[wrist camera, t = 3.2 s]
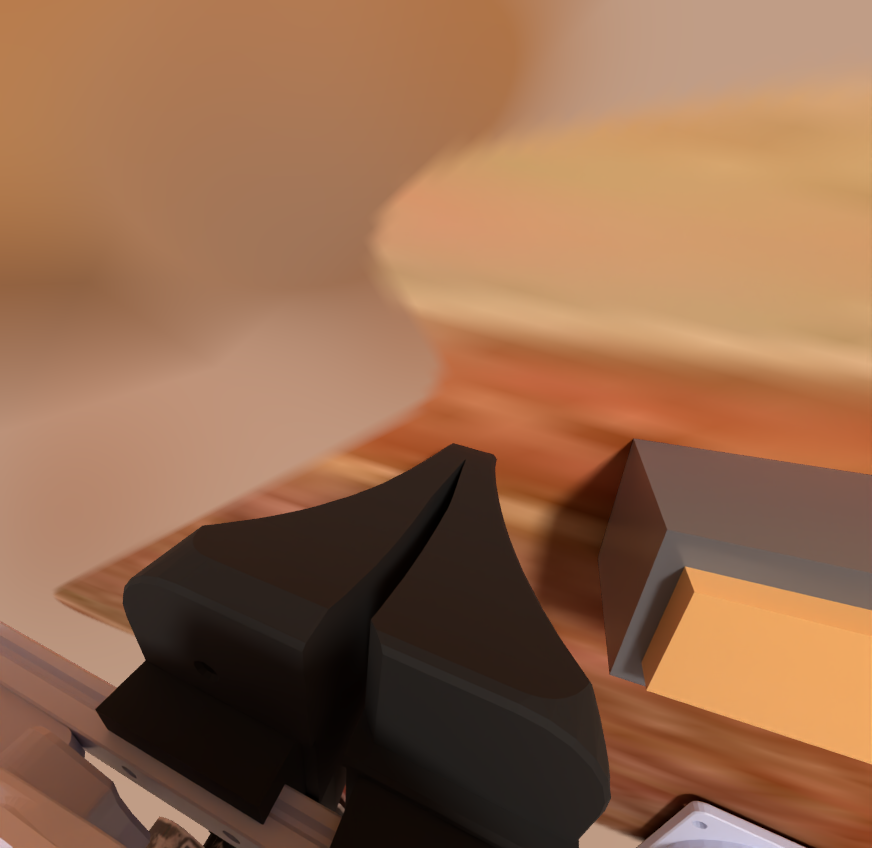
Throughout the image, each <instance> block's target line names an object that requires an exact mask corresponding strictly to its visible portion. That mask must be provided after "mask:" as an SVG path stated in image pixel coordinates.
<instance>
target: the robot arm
mask: <svg viewBox="0 0 872 848" xmlns="http://www.w3.org/2000/svg"><path fill="white" fill-rule="evenodd" d="M496 460H497V459H496V457H495V456H494V455H493V454H489V453H486V452H482V451H479V450H475V449H472V448H468V447H465V446H461V445H457V444H454V443H453V444H451V445H449V446H447V447H446V448H444V449H443V450H441V451H440V452H438V453H437V454H435V455H433V456H432V457H430V458H429V459H427V460H425V461H424V462H422V463H420V464H419V465H417V466H415V467H413V468H412V469H410V470H408V471H406V472H405V473H403V474H401V475H399V476H397V477H395V478H393V479H391V480H389V481H387V482H385V483H383V484H380V485H378V486H376V487H373V488H371V489H368V490H366V491H363V492H360V493H358V494H355V495H352V496H349V497H346V498H343V499H340V500H336V501H333V502H329V503H326V504H323V505H319V506H316V507H312V508H308V509H304V510H299V511H295V512H291V513H285V514H280V515H275V516H270V517H264V518H259V519H252V520H244V521H237V522H230V523H222V524H215V525H205V526H202V527H200V528H199V529H197V530H196V531H195V532H193V533H192V534H191V535H189V536H188V537H186V538H185V539H184V540H182V541H181V542H180V543H178V544H177V545H176V546H174V547H173V548H172V549H170V550H169V551H167V552H166V553H165V554H163V555H162V556H161V557H159V558H158V559H157V560H155V561H154V562H153V563H151V564H150V565H148V566H147V567H146V568H144V569H143V570H142V571H140V572H139V573H138V574H136V575H135V576H134V577H132V578H131V579H130V580H129V582H128V583H127V584H126V586H125V588H124V593H123V606H124V609H125V612H126V616H127V618H128V621H129V623H130V625H131V627H132V630H133V632H134V634H135V637H136V639H137V641H138V644H139V646H140V648H141V650H142V653H143V655H144V657H145V659H146V661H145V662H144V663H143V664H142V665H141V666H139V668H138V669H137V670H135V671H134V672H133V673H132V674H131V675H130V676H129V677H128V678H127V679H126V680H125V681H124V682H123V683H122V684H121V685H120V686H119V687H118V688H117V687H115V686H113V685H111V684H110V683H108V682H106V681H104V680H103V679H101V678H99V677H97V676H96V675H94V674H92V673H90V672H89V671H87V670H85V669H83V668H82V667H80V666H78V665H76V664H75V663H73V662H71V661H69V660H68V659H66V658H64V657H62V656H61V655H59V654H57V653H55V652H54V651H52V650H50V649H48V648H47V647H45V646H43V645H41V644H40V643H38V642H36V641H35V640H33V639H31V638H29V637H27V636H26V635H24V634H22V633H21V632H19V631H17V630H15V629H14V628H12V627H10V626H8V625H6V624H5V623H3V622H1V621H0V848H146V847H147V845H148V844H149V843H150V836H151V833H150V832H149V831H148V830H147V829H146V828H145V827H144V826H143V825H142V824H141V822H140V821H139V820H138V819H137V818H136V817H135V816H134V815H133V814H132V813H131V811H130V810H129V809H128V807H127V806H126V804H125V803H124V802H123V801H122V799H121V798H120V796H119V794H118V792H117V790H116V787H115V785H114V783H113V782H112V781H111V780H110V779H109V778H108V777H106V776H105V775H104V774H103V773H102V772H100V771H99V770H98V769H97V768H96V767H94V766H93V765H92V764H91V763H89V762H88V761H87V760H86V759H85V758H84V757H85V751H87V752H88V753H90V754H91V755H93V756H95V757H96V758H98V759H100V760H101V761H102V762H104V763H105V764H107V765H109V766H110V767H112V768H113V769H115V770H116V771H118V772H119V773H121V774H122V775H124V776H126V777H127V778H129V779H130V780H132V781H133V782H135V783H137V784H138V785H140V786H141V787H143V788H144V789H146V790H147V791H149V792H150V793H152V794H153V795H155V796H157V797H158V798H160V799H162V800H163V801H164V802H166V803H167V804H169V805H171V806H172V807H174V808H175V809H177V810H178V811H180V812H182V813H183V814H185V815H186V816H188V817H189V818H191V819H192V820H194V821H195V822H197V823H198V824H200V825H202V826H203V827H205V828H206V829H208V830H209V831H211V832H212V833H214V834H216V835H217V836H219V837H220V838H222V839H223V840H225V841H226V842H228V843H230V844H231V845H233V846H234V847H236V848H579V838H580V837H581V836H582V835H583V834H584V833H585V832H586V830H588V828H589V827H590V826H591V825H592V824H593V823H594V822H595V821H596V820H597V819H598V818H599V817H600V816H601V814H602V813H603V812H604V811H605V809H606V807H607V805H608V803H609V801H610V799H611V793H610V773H609V762H608V756H607V750H606V745H605V739H604V734H603V729H602V724H601V719H600V715H599V711H598V706H597V702H596V698H595V694H594V690H593V687H592V684H591V682H590V681H589V679H588V678H587V677H586V675H585V674H584V672H583V671H582V669H581V668H580V666H579V665H578V664H577V662H576V661H575V659H574V658H573V656H572V655H571V653H570V652H569V651H568V649H567V648H566V646H565V645H564V643H563V642H562V640H561V639H560V637H559V636H558V634H557V632H556V631H555V629H554V627H553V626H552V624H551V622H550V621H549V619H548V617H547V616H546V614H545V612H544V611H543V609H542V607H541V605H540V603H539V601H538V599H537V597H536V595H535V594H534V592H533V590H532V588H531V586H530V584H529V582H528V580H527V578H526V576H525V574H524V572H523V570H522V568H521V565H520V563H519V561H518V558H517V556H516V554H515V551H514V549H513V546H512V543H511V541H510V538H509V535H508V532H507V529H506V526H505V522H504V519H503V515H502V512H501V507H500V503H499V498H498V492H497V486H496V476H495V465H496ZM345 785H346V794H345V811H344V813H343V816H340V815H338V814H337V813H335V812H336V810H337V807H338V804H339V801H340V798H341V796H342V793H343V790H344V787H345ZM636 848H806V847H804V846H802V845H800V844H797V843H795V842H793V841H791V840H788V839H786V838H784V837H782V836H779V835H777V834H775V833H773V832H770V831H768V830H766V829H764V828H761V827H759V826H757V825H755V824H752V823H750V822H748V821H746V820H744V819H741V818H739V817H737V816H735V815H732V814H730V813H728V812H726V811H723V810H721V809H719V808H717V807H714V806H712V805H710V804H708V803H705V802H701V801H692V802H690V803H689V804H688V805H687V806H685V807H684V808H683V809H682V810H681V811H679V812H678V813H677V814H676V815H675V816H673V817H672V818H671V819H670V820H669V821H667V822H666V823H665V824H664V825H663V826H661V827H660V828H659V829H658V830H657V831H656V832H654V833H653V834H652V835H651V836H650V837H648V838H647V839H646V840H645V841H644V842H642V843H641V844H640V845H639V846H638V847H636Z"/></svg>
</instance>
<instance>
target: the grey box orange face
mask: <svg viewBox="0 0 872 848" xmlns="http://www.w3.org/2000/svg"><path fill="white" fill-rule="evenodd" d="M598 566H599V576H600V586H601V596H602V605H603V615H604V625H605V634H606V644H607V654H608V663H609V673H610V675H612V676H616V677H619V678H622V679H625V680H628V681H631V682H634V683H637V684H640V685H643V686H646V690H647V691H650V692H653V693H656V694H659V695H662V696H665V697H668V698H671V699H674V700H677V701H680V702H683V703H686V704H690V705H693V706H696V707H699V708H702V709H705V710H708V711H711V712H714V713H717V714H720V715H723V716H726V717H729V718H732V719H735V720H738V721H741V722H744V723H747V724H750V725H754V726H757V727H760V728H763V729H766V730H769V731H772V732H775V733H778V734H781V735H784V736H787V737H790V738H793V739H796V740H799V741H802V742H805V743H808V744H811V745H814V746H818V747H821V748H824V749H827V750H830V751H833V752H836V753H839V754H842V755H845V756H848V757H851V758H854V759H857V760H860V761H863V762H866V763H869V764H872V475H868V474H861V473H855V472H848V471H842V470H835V469H829V468H822V467H816V466H809V465H803V464H796V463H790V462H783V461H777V460H770V459H764V458H757V457H751V456H744V455H738V454H731V453H725V452H718V451H711V450H705V449H698V448H692V447H685V446H679V445H672V444H666V443H659V442H653V441H646V440H640V439H633V442H632V446H631V449H630V452H629V456H628V459H627V462H626V465H625V469H624V472H623V475H622V479H621V482H620V485H619V489H618V492H617V495H616V499H615V502H614V505H613V509H612V512H611V515H610V518H609V522H608V525H607V528H606V532H605V535H604V538H603V542H602V545H601V548H600V552H599V555H598Z"/></svg>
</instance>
